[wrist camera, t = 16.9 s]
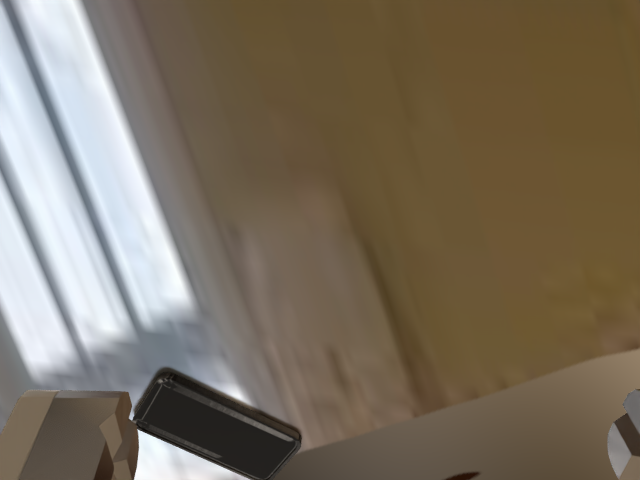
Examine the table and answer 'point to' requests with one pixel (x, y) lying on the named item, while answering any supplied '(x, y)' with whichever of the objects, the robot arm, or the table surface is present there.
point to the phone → (215, 428)
